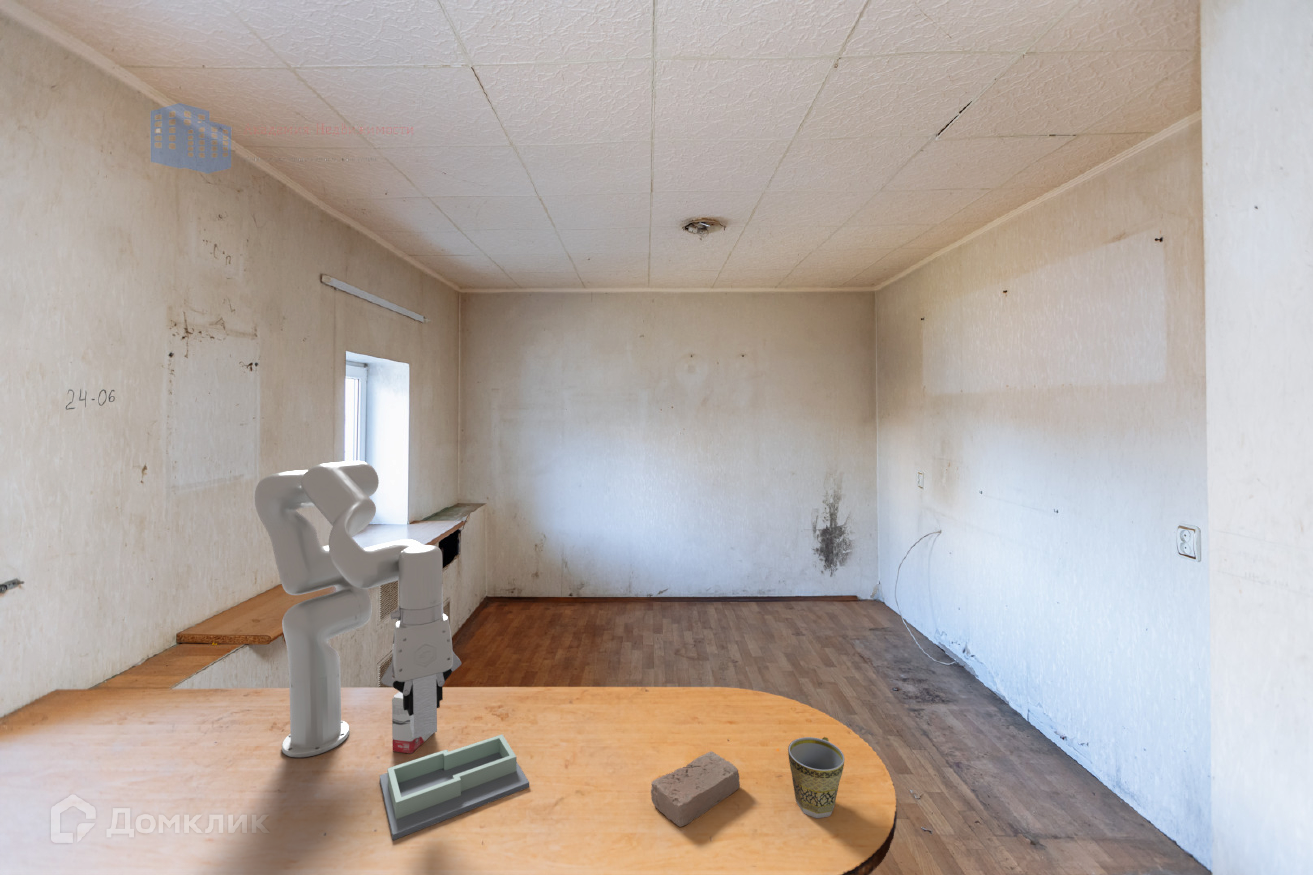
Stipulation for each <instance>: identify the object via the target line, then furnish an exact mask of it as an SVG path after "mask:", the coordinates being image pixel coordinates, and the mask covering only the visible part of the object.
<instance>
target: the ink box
mask: <svg viewBox="0 0 1313 875" xmlns="http://www.w3.org/2000/svg"><path fill="white" fill-rule="evenodd" d="M391 719H392V720H391V722H392V723H391V724H392V725H391V726H392V727H391V728H392V729H391V730H392V731H391V732H392V733H391V736H392V739H391V740H392V742H391V743H392V752H396V753H403V754H413V753H414V752H415V751H417V749H419V747H421V746H422V744H424V743H425V742H426V741H427V740H428V739H429V738H431V736H432V735H434V733H431V734H428V735H425V736H422V737H418V738H415V739H414V737H413V734H412V732H411V729H410V716H409V714H408V711H407V710H405V711H404V709H403V693H401V692H400V691H397V693H396V694H394V695H393V698H392V699H391ZM424 741H425V742H424Z"/></svg>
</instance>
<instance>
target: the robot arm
mask: <svg viewBox="0 0 1313 875" xmlns="http://www.w3.org/2000/svg"><path fill="white" fill-rule="evenodd" d="M379 483H380V482H379V475H378V473H377V470H375V468H374V467H373V466H372V465H371V464H370V463H368V462H366V461H361V460H351V461H350V460H349V461H337V462H336V461H335V462H327V463H325V462H324V463H320V464H316V465H314V466H312V467H310V468H309V469H301V470H299V469H298V470H289V471H288V470H287V471H281V472H276V473H272V474H270V475H269V474H268V475H266V476H265V477H263V478H262V479H261V480H259V482H258V483H257V484H256V487H255V491H254V505H255V510H256V513H257V515H258V518H259V520H260V521H261V523H262V525H263V526H264V528H265V530H266V532H267V534H268V536H269V538H270V541H271V546H272V550H273V554H274V559H275V564H276V566H277V572H278V575H279V581H280V583H281V585H282V588H283V590H284V591H285V593H286V594H288V595H290V596H300V595H301V596H302V595H304V594H305V595H306V594H309V593H314V592H317V591H321V590H324V589H329V588H332V587H334V588H335V589H336V591H335V592H330V593H327V594H322V595H319V596H316V597H312V598H309V599H306V600H303V601H301V602H300V601H299V602H298V603H296V604H293V605H292V606H291V607H290V608H288V609H287V610H286V612H285V613H284V615H283V617H282V620H281V624H282V625H281V626H282V633H283V636H284V640H285V644H286V649H287V659H288V679H289V680H288V682H289V685H288V686H289V721H290V723H289V724H290V725H289V726H290V727H289V728H290V732H289V734H288V735H287V736H286V737H285V738H284V740H283V741H282V743H281V750H282V753H283V754H284V755H285V756H288V757H290V758H308V757H312V756H318V755H321V754H323V753H326V752H329V751H331V750H333V749H334V748H336V747H338V746H339V745H341V744H342V743H343V742H344V741H345V740H346V739H347V738H348V737H349V734H350V724H349V723H348V722H346V720H345V721H344V720H342V688H341V687H342V686H341V684H342V683H341V677H342V676H341V657H340V655H339V652H338V651H337V650H336V649H335V647H333V646H331V645H330V643H329V641H330V639H333V638H336V637H337V636H340V635H342V634H343V635H344V634H346V633H349V632H351V631H354V630H356V629H359V628H361V627H364V626H365V625H366V624H367V623H368V622H369V621H370V619H371V617H372V614H373V611H372V610H373V608H372V607H373V606H372V605H373V604H372V600H371V596H370V592H369V589H372V588H376V587H380V586H383V585H386V584H389V583H393V582H397V581H398V603H399V605H398V608H397V609H396V610H395V611H391V612H390V620H397V622H396V623H395V626H394V630H393V632H394V633H393V639H392V640H393V641H392V651H391V653H392V654H391V662H390V664H389V666H388V667H387V669H386V670H385V672H384V674H383V675H382V677H381V679H380V681H381V684H383V685H385V686H388V687H390V688H391V687H392V688H393V689H395V691H396V690H397V692H401V693H403V709H404V711H405V710H407V711H408V714H409V716H411V715H412V714H413V694H412V692H411V684H412V680H414V679H418V678H422V677H427V676H431V675H434V674H436V693H437V709H440V708H441V707H440V706H441V703H440V702H441V701H443V698H444V697H443V696H444V695H443V694H444V693H443V691H444V690H443V686H445V683H446V681H447V680H448V679H449V677H450V676H451V675H452V673H453V672H455V671H456V670H457V669H458V668H459V667H460V666H462V661H461V660H460V658H459V657H458V656H457V655H456V654H455V652H454V651H453V640H452V632H451V626H450V620H449V616H448V615H447V614H445V613H444V587H443V586H444V585H443V584H444V583H443V582H444V580H443V575H444V574H443V572H444V571H443V552H442V550H441V549H440V547H439V546H436V545H432V544H431V545H430V544H423V543H421V542H420V541H418V540H416V539H412V538H403V539H399V540H394V541H387V542H384V543H378V544H375V545H374V544H373V545H371V546H366V547H362V546H360V544H358V542H356V540H355V539H354V538H353V537H354V536H355V535H357V534H358V533H360V532H361V531H363V530H364V529H365V528H366V527H367V526H368V525H369V524H371V522H372V521H373V519H374V518H375V516H376V514H377V513H376V512H377V506H376V503H375V502H374V501H373V500H372V499H371V498H370V497H372V496H373V495H374V494H375V493H376V491H377V490H378V488H379ZM313 507H316V508H317V509H318V511H320V513H321V514H322V515H323V516H324V518H325V519H326V520H327V521H328V522H329V524H330V525H331V526H332V527H331V530H330V533H329V537H328V544H327V545H323V546H322V545H321V543H320V541H319V538H318V533H317V530H316V527H315V526H314V524H313V523H312V522H311V521H310V520H309V519H308V518H307V517H306V516H304V515H303V514H301V513H300V512H298V511H297V510H299V509H304V508H305V509H307V508H313ZM393 676H394V677H393Z"/></svg>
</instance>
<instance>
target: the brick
mask: <svg viewBox="0 0 1313 875" xmlns="http://www.w3.org/2000/svg"><path fill="white" fill-rule="evenodd" d="M650 784H651V787H650V795H651V797H650V798H651V803H652V804H653V806H654V807H655V808H656V809H657V810H658V811H659V812H660V813H662V814H663V815H665V817H666V818H667V819H668V820H670V821H672V822H673V824H676V826H678V827H679V828H680V827H681V828H682V827H684V826H686V825H689V824H690V823H692V822H693V820H694V819H698V818H699V817H700V816H702V815H703V814H705V813H706V812H708V811H710V810H711V809H712V808H713V807H714V806H716V805H718V804H719V803H720V802H722V801H724V799H726V798H728V797H729V796H731V795H732V794H733V793H735V792H736V791H737V790H738V789H739V788H740V786H741V785H740V784H741V783H740V773H739V769H738V768H737V767H736V766H735V765H734V764H733V763H732V762H730V761H729V760H726V759H725V757H721V756H720V755H719V754H717V753H715V752H714V751H707V752H706V753H705V754H703V755H700V756H698V757H696V758H694V759H693V760H692V761H691V762H689V763H687V765H685V766H683V767H679V768H677V769H675V770H674V771H673V772H672V771H671V772H669V773H666V774H664V775H662V776H660V777H657V778H656V779H653V781H651V783H650Z"/></svg>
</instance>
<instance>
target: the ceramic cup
mask: <svg viewBox="0 0 1313 875" xmlns="http://www.w3.org/2000/svg"><path fill="white" fill-rule="evenodd" d="M787 752H788V761H789V768H790V772H791V778H792V785H793V791H794V798H795V802H796V804H797V806H798V807H799V809H800V810H801V812H802V813H803V814H805V815H807V816H809V817H812V818H814V819H823V818H827V817H830V816H831V815H832V813H833V811H834V808H835V805H836V800H837V795H838V791H839V785H840V782H841V779H842V776H843V771H844V765H845V755H844V753H843V752H842V750H841V749H840V748H839V747H838V746H836V745H835V744H834V743H831V742H830V741H829V738H828V737H825V736H824V737H823V738H819V737H818V738H817V737H811V736H810V737H808V736H806V737H799V738H796V739H794V740H792V741H791V742H790V744H789V745H788V749H787Z"/></svg>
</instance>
